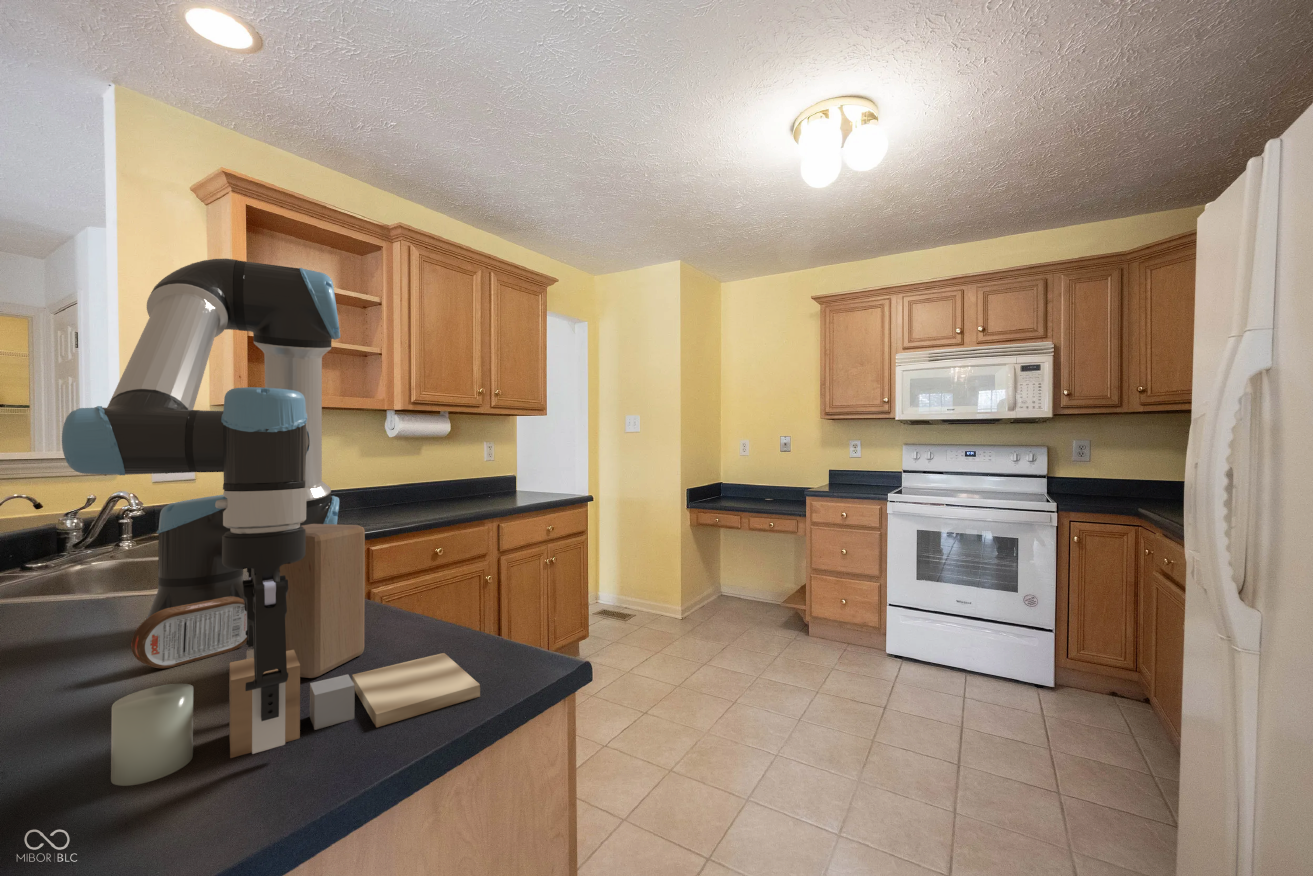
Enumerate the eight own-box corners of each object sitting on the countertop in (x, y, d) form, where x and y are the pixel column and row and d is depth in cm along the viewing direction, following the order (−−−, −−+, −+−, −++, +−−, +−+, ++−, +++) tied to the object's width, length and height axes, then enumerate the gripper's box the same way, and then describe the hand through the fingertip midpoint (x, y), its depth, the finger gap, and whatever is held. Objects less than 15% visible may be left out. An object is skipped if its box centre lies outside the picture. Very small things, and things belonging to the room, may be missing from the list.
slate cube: (309, 717, 64) (309, 683, 64) (348, 706, 67) (348, 674, 67) (314, 730, 61) (314, 695, 61) (354, 719, 64) (354, 685, 64)
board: (352, 686, 73) (352, 674, 73) (444, 663, 80) (444, 652, 80) (376, 727, 62) (376, 714, 62) (480, 696, 69) (480, 684, 69)
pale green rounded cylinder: (115, 764, 55) (116, 694, 55) (193, 744, 59) (194, 678, 59) (106, 794, 50) (107, 717, 50) (191, 769, 54) (192, 698, 54)
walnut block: (229, 734, 60) (229, 662, 61) (293, 717, 64) (293, 649, 64) (230, 758, 56) (230, 680, 56) (299, 738, 60) (300, 665, 60)
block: (314, 681, 74) (315, 534, 74) (253, 675, 76) (254, 532, 76) (367, 654, 84) (367, 524, 84) (312, 649, 86) (312, 522, 86)
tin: (251, 641, 90) (251, 590, 90) (260, 644, 88) (261, 592, 89) (129, 674, 77) (130, 614, 77) (138, 679, 75) (139, 618, 75)
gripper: (221, 519, 67) (219, 694, 67) (223, 546, 49) (221, 790, 48) (293, 514, 72) (292, 678, 72) (321, 537, 53) (320, 759, 53)
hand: (264, 723), depth 60 cm, fingers open, 12 cm apart
